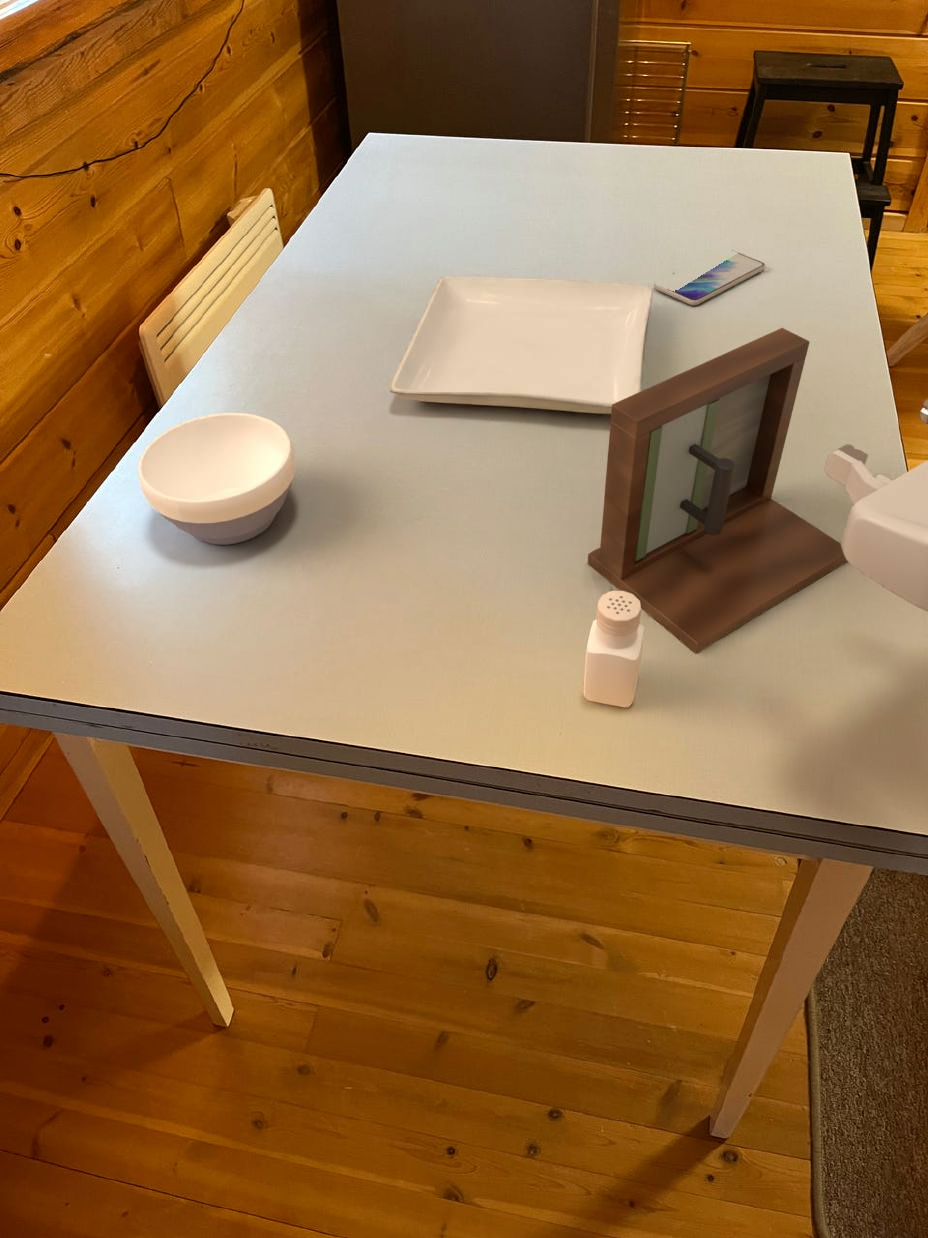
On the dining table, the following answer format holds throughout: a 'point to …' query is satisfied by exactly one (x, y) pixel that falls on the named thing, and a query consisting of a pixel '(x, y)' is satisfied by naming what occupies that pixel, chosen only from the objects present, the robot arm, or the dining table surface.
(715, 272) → the smartphone
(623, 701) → the salt shaker
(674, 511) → the window sash
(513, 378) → the square plate
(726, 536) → the window frame
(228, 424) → the bowl
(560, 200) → the dining table surface
